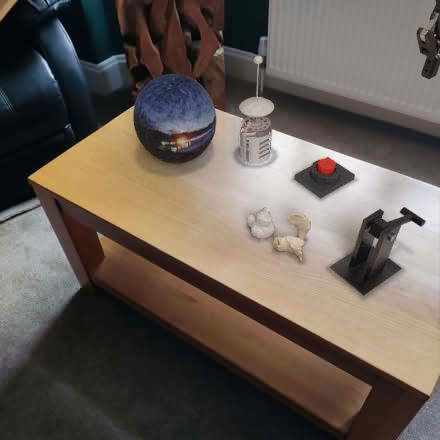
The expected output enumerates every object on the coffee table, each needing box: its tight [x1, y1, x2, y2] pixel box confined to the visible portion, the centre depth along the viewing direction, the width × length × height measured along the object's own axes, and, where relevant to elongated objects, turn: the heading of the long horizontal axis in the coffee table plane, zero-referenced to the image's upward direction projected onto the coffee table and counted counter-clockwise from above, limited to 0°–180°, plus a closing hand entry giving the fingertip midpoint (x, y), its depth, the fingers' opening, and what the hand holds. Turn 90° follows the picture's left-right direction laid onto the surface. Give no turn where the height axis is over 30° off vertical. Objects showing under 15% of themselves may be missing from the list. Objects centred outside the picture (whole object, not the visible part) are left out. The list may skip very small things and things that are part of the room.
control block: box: [293, 156, 356, 200], centre depth 102 cm, size 11×9×4 cm
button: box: [317, 157, 336, 175], centre depth 100 cm, size 4×4×2 cm
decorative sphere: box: [132, 73, 217, 164], centre depth 104 cm, size 20×20×20 cm
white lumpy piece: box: [246, 206, 276, 239], centre depth 91 cm, size 5×7×8 cm
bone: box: [272, 212, 312, 262], centre depth 88 cm, size 9×6×10 cm
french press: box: [237, 55, 275, 165], centre depth 100 cm, size 10×12×25 cm
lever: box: [368, 206, 427, 240], centre depth 80 cm, size 13×5×2 cm, turn 126°
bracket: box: [329, 208, 403, 297], centre depth 81 cm, size 11×9×14 cm
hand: (428, 76), depth 79 cm, fingers closed
